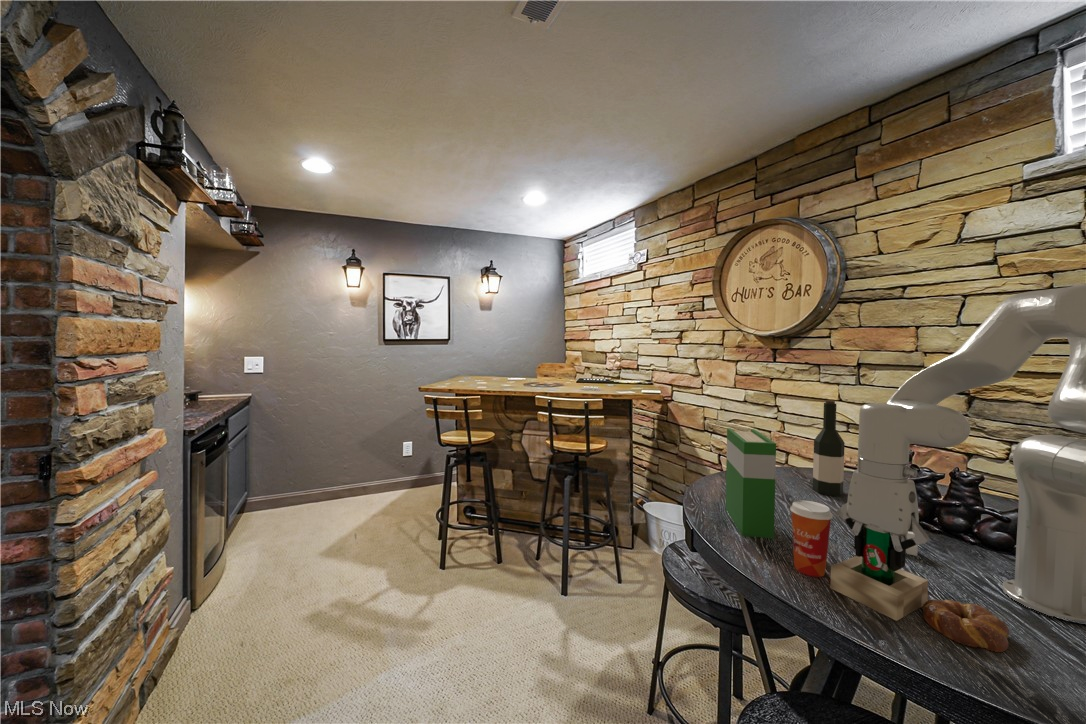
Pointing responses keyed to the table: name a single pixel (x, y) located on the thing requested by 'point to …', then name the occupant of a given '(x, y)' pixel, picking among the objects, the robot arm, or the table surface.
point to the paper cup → (810, 536)
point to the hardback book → (751, 482)
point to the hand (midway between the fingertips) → (878, 560)
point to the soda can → (877, 554)
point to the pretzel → (967, 624)
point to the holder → (879, 589)
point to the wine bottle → (828, 455)
